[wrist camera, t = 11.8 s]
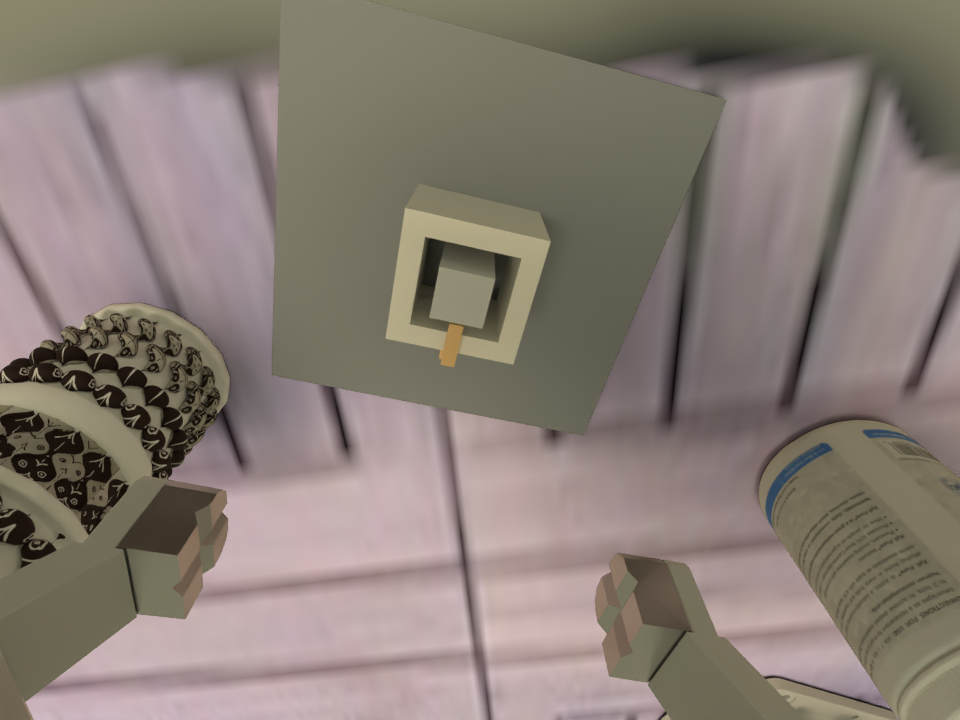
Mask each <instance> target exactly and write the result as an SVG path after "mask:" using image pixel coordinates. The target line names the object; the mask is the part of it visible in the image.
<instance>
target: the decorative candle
mask: <svg viewBox="0 0 960 720" xmlns="http://www.w3.org/2000/svg"><path fill="white" fill-rule="evenodd" d="M61 336H62V338H63V339H64V343H56V342H54V341H52V340H45V341H42V342H41V344H40V347H39V348H36V349H34V350H33V351H32V352H31V354H30V356H29V359H27V358H19V359H16V360H14V361H12V362H11V363H10V364H9V365H8V366H6V367H5V368H3V369H2V371H1V372H0V579H1V578H3V577H5V576H7V575H9V574H11V573H13V572H15V571H17V570H19V569H21V568H23V567H25V566H27V565H29V564H31V563H33V562H35V561H37V560H39V559H41V558H43V557H45V556H47V555H49V554H51V553H53V552H55V551H57V550H59V549H61V548H63V547H65V546H67V545H69V544H71V543H73V542H78V543H83V542H84V541H85V540H86V538H87V537H88V536H89V535H90V534H91V533H92V531H93V530H94V529H95V528H96V527H97V526H98V524H99V523H100V522H101V521H102V520H103V519H104V517H105V516H106V515H107V514H108V513H109V512H110V510H111V509H112V508H113V507H114V506H115V505H116V503H117V502H118V501H119V500H120V499H121V498H122V496H123V495H124V494H125V493H126V492H127V491H128V489H129V488H130V487H131V486H132V485H133V484H134V482H135V481H137V480H138V479H140V478H142V477H143V476H150V477H156V478H161V479H167V480H168V478H169V477H170V476H171V475H172V468H174V467H177V466H179V465H180V464H181V463H182V462H183V461H184V458H185V456H186V455H188V454H189V453H190V452H191V450H192V447H193V446H195V445H196V444H197V443H199V441H200V440H201V439H202V437H203V435H204V433H205V431H206V428H208V427H210V426H211V425H212V424H213V423H214V422H215V420H216V418H217V415H218V413H219V411H220V410H221V409H222V407H223V406H224V405H225V404H226V402H227V401H228V396H229V387H230V376H229V373H228V370H227V367H226V365H225V362H224V359H223V356H222V354H221V353H220V351H219V350H218V349H217V348H216V347H215V346H214V344H213V343H212V342H211V341H210V340H209V339H208V337H207V336H206V335H205V334H204V333H203V331H202V330H200V329H199V328H197V327H196V326H194V325H192V324H191V323H189V322H188V321H186V320H185V319H183V318H182V317H180V316H179V315H177V314H175V313H174V312H171V311H168V310H164V309H161V308H157V307H154V306H151V305H147V304H144V303H126V304H111V305H109V306H107V307H105V308H104V309H102V310H100V311H98V312H96V313H94V314H92V315H88V316H86V317H85V319H84V322H83V324H82V326H81V327H80V329H77V328H76V327H74V326H68V327H66V328H65V329H64V330H63V331H62V333H61ZM30 368H31V369H30Z"/></svg>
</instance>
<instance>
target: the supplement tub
mask: <svg viewBox="0 0 960 720" xmlns="http://www.w3.org/2000/svg"><path fill="white" fill-rule="evenodd" d="M759 502H760V506H761V509H762V511H763V513H764V515H765V517H766V518H767V520H768V521H769V523H770V525H771V526H772V528H773V529H774V531H775V532H776V534H777V535H778V537H779V538H780V540H781V542H782V543H783V545H784V546H785V548H786V549H787V551H788V552H789V554H790V555H791V557H792V558H793V560H794V562H795V563H796V565H797V566H798V568H799V569H800V571H801V572H802V574H803V575H804V577H805V578H806V580H807V581H808V583H809V584H810V586H811V587H812V589H813V591H814V592H815V594H816V595H817V597H818V598H819V600H820V601H821V603H822V604H823V606H824V607H825V609H826V610H827V612H828V613H829V615H830V617H831V618H832V620H833V621H834V623H835V624H836V626H837V627H838V629H839V630H840V632H841V633H842V635H843V636H844V638H845V640H846V641H847V643H848V644H849V646H850V647H851V649H852V650H853V652H854V653H855V655H856V656H857V658H858V659H859V661H860V663H861V664H862V666H863V667H864V669H865V670H866V672H867V673H868V675H869V676H870V678H871V679H872V681H873V682H874V684H875V686H876V687H877V689H878V690H879V692H880V693H881V694H882V696H883V697H884V699H885V700H886V702H887V703H888V705H889V706H890V708H891V710H892V711H893V713H894V714H895V715H896V717H897V718H898V719H899V720H960V478H959V477H958V476H956V475H955V474H954V473H953V472H952V471H950V470H949V469H948V468H947V467H946V466H945V465H943V464H942V463H941V462H940V461H939V460H937V459H936V458H935V457H934V456H933V455H931V454H930V453H929V452H928V451H927V450H925V449H924V448H923V447H922V446H921V445H919V444H918V443H917V442H915V441H914V440H913V439H912V438H911V437H909V436H908V435H907V434H906V433H905V432H903V431H902V430H900V429H898V428H896V427H894V426H892V425H889V424H886V423H882V422H877V421H870V420H850V421H842V422H836V423H833V424H829V425H825V426H822V427H819V428H817V429H815V430H812V431H810V432H808V433H806V434H804V435H803V436H801V437H799V438H798V439H796V440H795V441H793V442H791V443H790V444H789V445H787V446H786V447H784V448H783V449H782V450H781V451H780V452H779V453H778V454H777V455H776V456H775V457H774V458H773V459H772V460H771V462H770V463H769V465H768V466H767V468H766V470H765V471H764V473H763V476H762V478H761V481H760V486H759Z"/></svg>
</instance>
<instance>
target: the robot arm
mask: <svg viewBox="0 0 960 720" xmlns="http://www.w3.org/2000/svg"><path fill="white" fill-rule="evenodd" d="M226 504H227V494H226V491H225V490H222V489H216V488H211V487H206V486H200V485H195V484H190V483H184V482H179V481H174V480H167V479H161V478H156V477H150V476H143V477H142V478H140V479H138V480H137V481H135V482H134V484H133V485H132V486H131V487H130V488H129V489H128V491H127V492H126V493H125V494H124V495H123V496H122V498H121V499H120V500H119V501H118V502H117V503H116V505H115V506H114V507H113V508H112V509H111V510H110V512H109V513H108V514H107V515H106V516H105V517H104V519H103V520H102V521H101V522H100V523H99V524H98V526H97V527H96V528H95V529H94V530H93V531H92V533H91V534H90V535H89V536H88V537H87V538H86V540H85V541H84V542H83V543H78V542H73V543H71V544H69V545H67V546H65V547H63V548H61V549H59V550H57V551H55V552H53V553H51V554H49V555H47V556H45V557H43V558H41V559H39V560H37V561H35V562H33V563H31V564H29V565H27V566H25V567H23V568H21V569H19V570H17V571H15V572H13V573H11V574H9V575H7V576H5V577H3V578H1V579H0V720H33V717H32V715H31V713H30V711H29V709H28V707H27V704H26V701H27V700H28V699H30V698H31V697H32V696H34V695H35V694H36V693H38V692H39V691H40V690H41V689H43V688H44V687H45V686H47V685H48V684H49V683H51V682H52V681H53V680H55V679H56V678H57V677H59V676H60V675H61V674H62V673H64V672H65V671H66V670H68V669H69V668H70V667H72V666H73V665H74V664H76V663H77V662H78V661H80V660H81V659H82V658H83V657H85V656H86V655H87V654H89V653H90V652H91V651H93V650H94V649H95V648H97V647H98V646H99V645H101V644H102V643H103V642H104V641H106V640H107V639H108V638H110V637H111V636H112V635H114V634H115V633H116V632H118V631H119V630H120V629H122V628H123V627H124V626H125V625H127V624H128V623H129V622H131V621H132V620H133V619H135V618H136V617H137V615H136V614H141V615H150V616H160V617H169V618H179V619H186V617H187V615H188V613H189V612H190V610H191V608H192V606H193V604H194V603H195V601H196V599H197V597H198V595H199V594H200V592H201V590H202V588H203V578H202V574H203V573H205V572H206V571H208V570H210V569H211V568H213V567H214V566H215V564H216V562H217V560H218V558H219V557H220V555H221V552H222V550H223V547H224V544H225V541H226V538H227V531H228V518H227V517H226V516H225V515H224V514H223V513H222V511H223V509H224V508H225V506H226ZM609 566H610V570H611V572H610V573H608V574H606V575H604V576H603V577H602V578H601V580H600V582H599V584H598V586H597V590H596V597H595V611H596V616H597V621H598V623H599V625H600V626H601V627H602V628H603V630H604V631H605V632H606V633H607V635H606V637H605V639H604V641H603V643H602V646H603V650H604V655H605V660H606V664H607V669H608V674H609V676H610V677H616V678H622V679H629V680H635V681H641V682H647V683H649V684H648V686H649V687H650V689H651V690H652V692H653V693H654V695H655V696H656V698H657V699H658V701H659V702H660V704H661V705H662V707H663V708H664V710H665V711H666V713H667V715H665V716H664V717H663V718H662V719H661V720H897V718H896V716H895V714H894V713H893V712H892V711H889V710H886V709H883V708H879V707H876V706H872V705H869V704H866V703H862V702H859V701H855V700H852V699H849V698H845V697H842V696H838V695H835V694H831V693H828V692H825V691H821V690H818V689H814V688H811V687H808V686H804V685H801V684H797V683H794V682H790V681H787V680H784V679H780V678H769V679H765V678H764V677H763V676H762V675H761V674H760V673H759V672H758V671H757V670H756V669H755V668H754V667H753V666H752V665H751V664H750V663H749V662H748V661H747V660H746V659H745V658H744V657H743V656H742V655H741V654H740V653H739V652H738V650H737V649H736V648H735V647H734V646H733V645H732V644H731V643H730V642H729V641H728V640H727V639H726V638H724V637H719V636H718V635H717V632H716V630H715V628H714V625H713V623H712V621H711V618H710V616H709V613H708V611H707V609H706V606H705V604H704V602H703V599H702V597H701V594H700V592H699V590H698V587H697V585H696V583H695V580H694V578H693V576H692V573H691V571H690V569H689V567H688V566H687V565H686V564H685V563H679V562H673V561H667V560H660V559H656V558H649V557H642V556H636V555H629V554H622V553H617V554H616V555H614V556H613V557H612V559H611V561H610V563H609Z"/></svg>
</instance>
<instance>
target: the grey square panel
mask: <svg viewBox="0 0 960 720" xmlns="http://www.w3.org/2000/svg"><path fill="white" fill-rule="evenodd" d="M725 102H726V100H725V99H722V98H718V97H715V96H711V95H707V94H704V93H700V92H697V91H693V90H689V89H686V88H682V87H678V86H675V85H671V84H668V83H664V82H660V81H657V80H653V79H649V78H646V77H642V76H639V75H635V74H631V73H628V72H624V71H621V70H617V69H613V68H610V67H606V66H602V65H598V64H595V63H591V62H588V61H584V60H581V59H577V58H574V57H570V56H566V55H562V54H559V53H555V52H552V51H548V50H545V49H541V48H537V47H534V46H530V45H526V44H523V43H519V42H516V41H512V40H508V39H505V38H501V37H497V36H494V35H490V34H486V33H483V32H479V31H476V30H472V29H469V28H465V27H461V26H458V25H454V24H450V23H447V22H443V21H440V20H435V19H432V18H428V17H425V16H422V15H418V14H414V13H411V12H407V11H403V10H400V9H396V8H392V7H389V6H385V5H382V4H378V3H375V2H371V1H367V0H281V18H280V58H279V99H278V140H277V181H276V222H275V263H274V304H273V345H272V375H273V376H279V377H284V378H289V379H294V380H299V381H304V382H310V383H315V384H320V385H325V386H330V387H335V388H341V389H346V390H351V391H356V392H361V393H366V394H372V395H377V396H382V397H387V398H392V399H397V400H403V401H408V402H413V403H418V404H423V405H428V406H434V407H439V408H444V409H449V410H454V411H459V412H465V413H470V414H475V415H480V416H485V417H490V418H495V419H501V420H506V421H511V422H516V423H521V424H526V425H532V426H537V427H542V428H547V429H552V430H557V431H563V432H568V433H573V434H578V435H583V434H584V432H585V430H586V427H587V425H588V423H589V420H590V418H591V416H592V413H593V411H594V409H595V406H596V404H597V402H598V399H599V397H600V395H601V392H602V390H603V388H604V385H605V383H606V381H607V378H608V376H609V374H610V371H611V369H612V367H613V364H614V362H615V360H616V357H617V355H618V352H619V350H620V348H621V345H622V343H623V341H624V338H625V336H626V334H627V331H628V329H629V327H630V324H631V322H632V320H633V317H634V315H635V313H636V310H637V308H638V306H639V303H640V301H641V299H642V296H643V294H644V292H645V289H646V287H647V285H648V282H649V280H650V278H651V275H652V273H653V271H654V268H655V266H656V264H657V261H658V259H659V257H660V254H661V252H662V250H663V247H664V245H665V243H666V240H667V238H668V236H669V233H670V231H671V229H672V226H673V224H674V222H675V219H676V217H677V214H678V212H679V210H680V207H681V205H682V203H683V200H684V198H685V196H686V193H687V191H688V189H689V186H690V184H691V182H692V179H693V177H694V175H695V172H696V170H697V168H698V165H699V163H700V161H701V158H702V156H703V154H704V151H705V149H706V147H707V144H708V142H709V140H710V137H711V135H712V133H713V130H714V128H715V126H716V123H717V121H718V119H719V116H720V114H721V112H722V109H723V107H724V105H725ZM419 184H423V185H427V186H431V187H435V188H440V189H444V190H448V191H452V192H456V193H461V194H465V195H469V196H473V197H478V198H482V199H486V200H490V201H494V202H499V203H503V204H507V205H511V206H516V207H520V208H524V209H528V210H532V211H537V212H540V214H541V217H542V219H543V222H544V225H545V227H546V230H547V233H548V235H549V238H550V241H551V243H550V246H549V249H548V252H547V256H546V259H545V262H544V266H543V269H542V272H541V275H540V279H539V282H538V285H537V288H536V292H535V295H534V298H533V302H532V305H531V308H530V311H529V315H528V318H527V321H526V324H525V328H524V331H523V334H522V338H521V341H520V344H519V347H518V351H517V354H516V357H515V360H514V364H513V365H512V364H508V363H503V362H498V361H493V360H488V359H483V358H478V357H473V356H468V355H463V354H458V353H457V357H456V362H455V366H454V367H449V366H444V365H440V364H441V359H442V354H443V350H439V349H434V348H429V347H424V346H419V345H414V344H409V343H404V342H399V341H394V340H389V339H385V338H386V332H387V325H388V318H389V312H390V305H391V298H392V292H393V285H394V278H395V272H396V265H397V258H398V252H399V245H400V238H401V232H402V225H403V218H404V212H405V207H406V205H407V204H408V202H409V200H410V199H411V197H412V195H413V193H414V192H415V190H416V188H417V187H418V185H419ZM507 258H508V255H504V254H499V253H495V252H490V251H486V250H482V249H477V248H473V247H468V246H464V245H459V244H455V243H451V242H446V241H442V240H437V239H433V238H430V241H429V247H428V252H427V258H426V263H425V269H424V274H423V280H422V284H423V285H427V286H432V287H435V291H434V296H433V301H432V306H431V311H430V316H429V318H433V319H438V320H443V321H448V322H452V323H457V324H462V325H466V326H471V327H476V328H480V329H483V325H484V321H485V317H486V313H487V310H488V306H489V302H490V299H492V300H497V296H498V292H499V288H500V285H501V281H502V277H503V273H504V269H505V266H506V262H507Z"/></svg>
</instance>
